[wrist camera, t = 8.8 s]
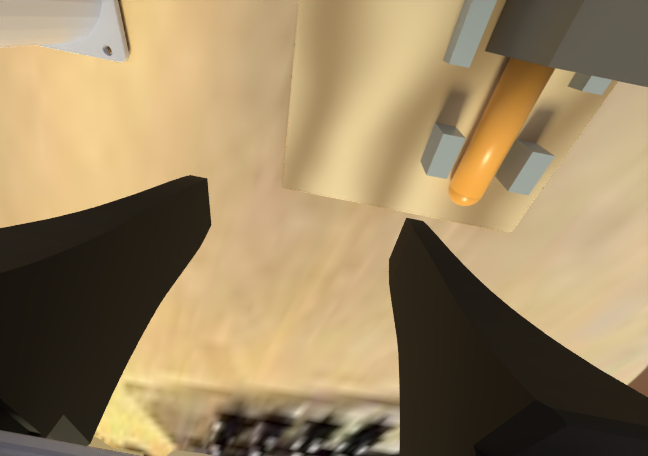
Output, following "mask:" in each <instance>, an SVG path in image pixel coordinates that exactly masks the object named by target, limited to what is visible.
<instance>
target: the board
mask: <svg viewBox="0 0 648 456" xmlns="http://www.w3.org/2000/svg"><path fill="white" fill-rule="evenodd" d="M464 2H465V0H299V4H298V15H297V27H296V38H295V49H294V61H293V72H292V83H291V95H290V106H289V117H288V129H287V140H286V151H285V163H284V174H283V185H282V188H286V189H291V190H296V191H301V192H306V193H311V194H316V195H321V196H326V197H331V198H336V199H341V200H346V201H351V202H356V203H362V204H367V205H372V206H377V207H382V208H387V209H392V210H397V211H402V212H407V213H412V214H417V215H422V216H427V217H432V218H438V219H443V220H448V221H453V222H458V223H463V224H468V225H473V226H478V227H483V228H488V229H493V230H498V231H503V232H508V233H511V232H512V231H513V230H514V228H515V227H516V225H517V224H518V223H519V221H520V220H521V218H522V217H523V215H524V214H525V213H526V211H527V210H528V208H529V207H530V205H531V204H532V203H533V201H534V200H535V198H536V197H537V196H538V194H539V193H540V191H541V190H542V188H543V187H544V186H545V184H546V183H547V181H548V180H549V179H550V177H551V176H552V174H553V173H554V171H555V170H556V169H557V167H558V166H559V164H560V163H561V161H562V160H563V159H564V157H565V156H566V154H567V153H568V152H569V150H570V149H571V147H572V146H573V144H574V143H575V142H576V140H577V139H578V137H579V136H580V135H581V133H582V132H583V130H584V129H585V127H586V126H587V125H588V123H589V122H590V120H591V119H592V118H593V116H594V115H595V113H596V112H597V110H598V109H599V108H600V106H601V105H602V103H603V102H604V100H605V99H606V98H607V96H608V95H609V93H610V92H611V91H612V89H613V88H614V86H615V85H616V83H617V82H618V81H615V80H612V81H611V83H610V84H609V85H608V87H607V88H606V90H605V91H604V93H603V94H602V95H598V94H593V93H589V92H584V91H580V90H577V89H574V88H570V87H567V86H568V85H569V83H570V81H571V80H572V78H573V76H574V75H575V73H576V72H571V71H566V70H562V69H557V68H555V70H554V72H553V74H552V75H551V77H550V79H549V81H548V82H547V84H546V86H545V88H544V90H543V91H542V93H541V95H540V97H539V98H538V100H537V102H536V104H535V105H534V107H533V109H532V111H531V112H530V114H529V116H528V118H527V119H526V121H525V123H524V125H523V126H522V128H521V130H520V132H519V133H518V135H517V137H516V139H518V140H523V141H528V142H533V143H537V144H538V145H540V146H541V147H543V148H544V149H545V150H547V151H548V152H550V153H551V154H553V155H554V156H555V157H554V159H553V160H552V162H551V163H550V165H549V166H548V167H547V169H546V170H545V172H544V173H543V175H542V176H541V178H540V179H539V181H538V182H537V184H536V185H535V187H534V188H533V189H532V191H531V192H530V194H529V195H523V194H518V193H513V192H508V191H507V190H506V189H505V187H504V186H503V185H502V184H501V183H500V182H499V180H498V179H497V178H496V177H495V175H496V174H495V175H494V177H493V179H492V181H491V182H490V184H489V186H488V188H487V189H486V191H485V193H484V195H483V196H482V198H481V199H480V200H479V201H478V202H477V203H475V204H473V205H470V206H460V205H457V204H456V203H454V202H453V201H452V200H451V198H450V196H449V193H448V189H449V185H450V183H451V181H452V178H453V176H454V174H455V172H456V170H457V168H458V166H459V164H460V162H461V160H462V158H463V155H464V153H465V151H466V149H467V147H468V145H469V143H470V141H471V139H472V137H473V134H474V132H475V130H476V128H477V126H478V124H479V122H480V120H481V118H482V116H483V114H484V111H485V109H486V107H487V105H488V103H489V101H490V99H491V97H492V95H493V93H494V91H495V88H496V86H497V84H498V82H499V80H500V78H501V76H502V74H503V72H504V70H505V68H506V65H507V63H508V61H509V59H510V57H506V56H502V55H498V54H494V53H490V52H486V51H485V49H486V47H487V44H488V42H489V40H490V37H491V35H492V33H493V30H494V28H495V25H496V23H497V21H498V18H499V16H500V14H501V11H502V9H503V7H504V4H505V2H506V0H497V2H496V4H495V7H494V9H493V11H492V14H491V16H490V19H489V21H488V24H487V26H486V28H485V31H484V33H483V36H482V38H481V41H480V43H479V45H478V48H477V50H476V53H475V55H474V57H473V60H472V62H471V65H470V67H469V68H467V67H462V66H457V65H452V64H448V63H446V62H444V61H443V60H444V57H445V54H446V52H447V49H448V46H449V43H450V41H451V38H452V35H453V32H454V29H455V27H456V24H457V21H458V18H459V16H460V13H461V10H462V7H463V4H464ZM435 123H439V124H444V125H449V126H454V127H456V128H457V129H458V130H459V131H460V132H461V133H462V134H463V136H464V137H465V138H466V139H465V141H464V143H463V146H462V148H461V150H460V152H459V154H458V156H457V158H456V161H455V163H454V165H453V167H452V169H451V171H450V173H449V175H448V178H447V179H443V178H438V177H433V176H428V175H426V173H425V171H424V169H423V166H422V164H421V162H420V161H421V158H422V156H423V153H424V151H425V148H426V145H427V143H428V140H429V138H430V135H431V133H432V130H433V128H434V125H435ZM516 139H515V140H516ZM515 140H514V142H515ZM514 142H513V144H514ZM513 144H512V145H513ZM511 147H512V146H511ZM511 147H510V149H511ZM510 149H509V151H510ZM509 151H508V152H509ZM507 154H508V153H507ZM507 154H506V156H507ZM506 156H505V158H506ZM505 158H504V159H505ZM503 161H504V160H503ZM503 161H502V163H503ZM502 163H501V165H502ZM501 165H500V166H501ZM499 168H500V167H499ZM499 168H498V170H499ZM498 170H497V172H498ZM497 172H496V173H497Z"/></svg>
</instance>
